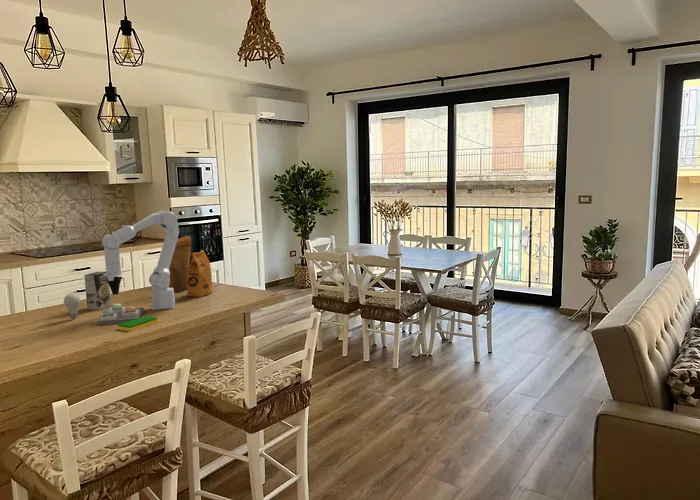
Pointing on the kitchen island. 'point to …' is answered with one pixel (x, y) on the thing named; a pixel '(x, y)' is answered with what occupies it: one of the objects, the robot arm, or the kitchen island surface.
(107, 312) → the slate button
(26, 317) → the kitchen island surface
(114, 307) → the sage button
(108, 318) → the button panel
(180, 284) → the pancake mix bag
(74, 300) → the lightbulb
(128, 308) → the terracotta button
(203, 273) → the coffee package
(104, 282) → the coffee box
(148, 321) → the dish sponge
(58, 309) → the kitchen island surface
